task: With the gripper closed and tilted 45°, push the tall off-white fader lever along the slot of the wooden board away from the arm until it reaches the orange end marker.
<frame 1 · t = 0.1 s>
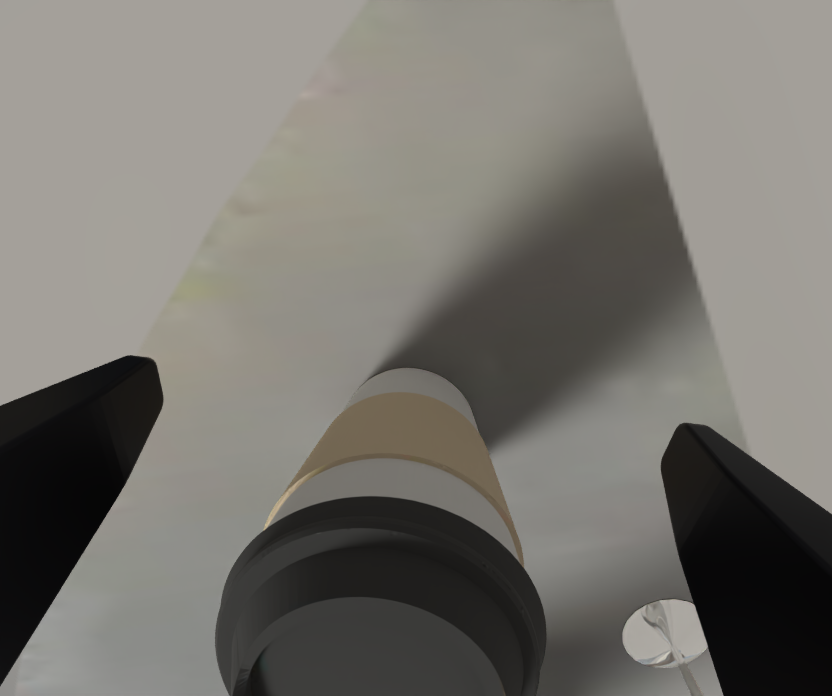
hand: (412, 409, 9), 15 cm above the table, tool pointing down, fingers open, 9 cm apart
wineglass: (665, 631, 29), on the table
coffee cup: (409, 429, 26), on the table
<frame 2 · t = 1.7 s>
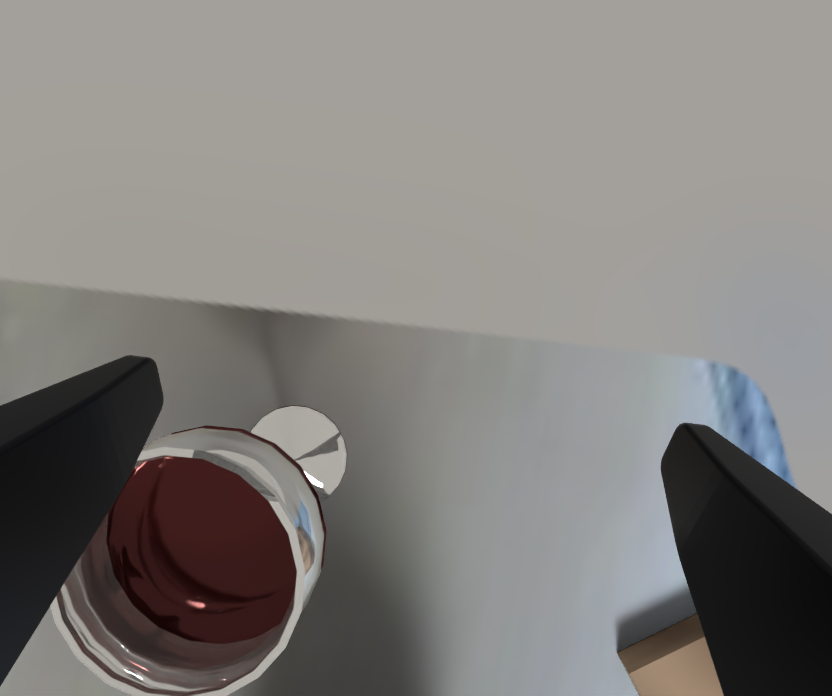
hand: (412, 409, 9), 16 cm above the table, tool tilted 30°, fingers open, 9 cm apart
wineglass: (296, 455, 25), on the table
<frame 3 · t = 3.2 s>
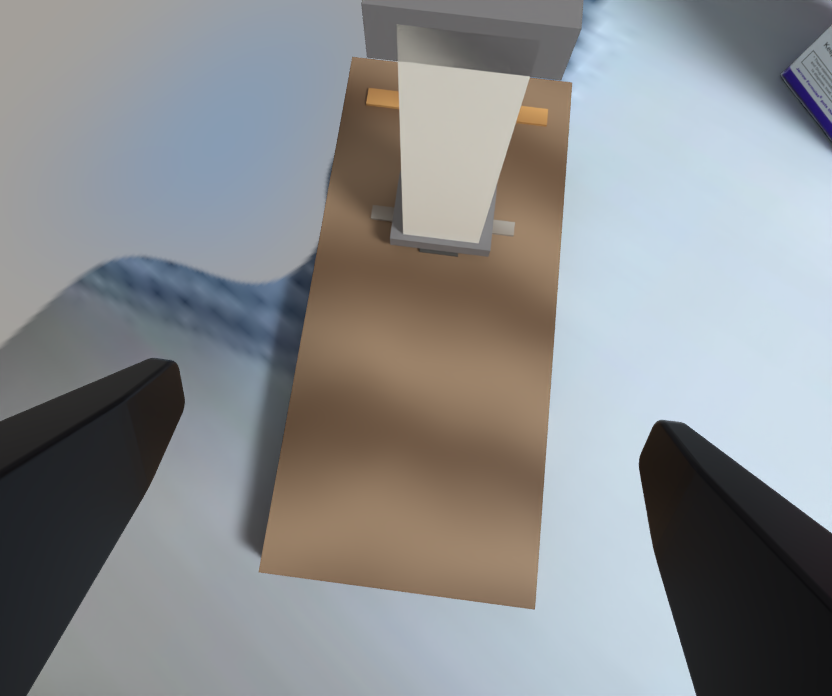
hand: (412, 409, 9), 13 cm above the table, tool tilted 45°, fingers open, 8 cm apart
wooden board: (431, 311, 22), on the table
fader lever: (454, 133, 16), point 7 cm above the table, slide at 0.0 cm
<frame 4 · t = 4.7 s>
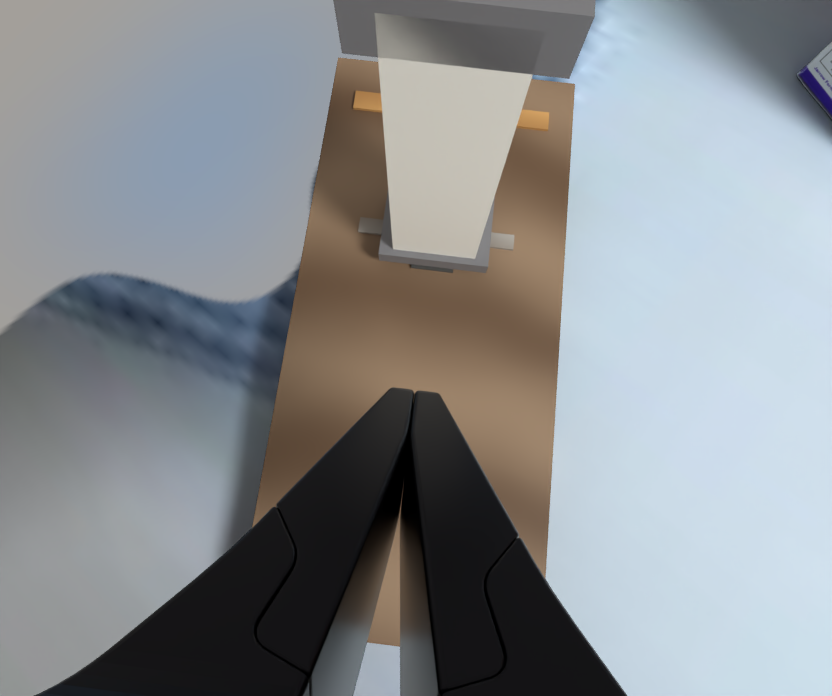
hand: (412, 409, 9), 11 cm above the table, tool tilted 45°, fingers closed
wooden board: (424, 331, 21), on the table
fader lever: (447, 140, 14), point 7 cm above the table, slide at 0.0 cm
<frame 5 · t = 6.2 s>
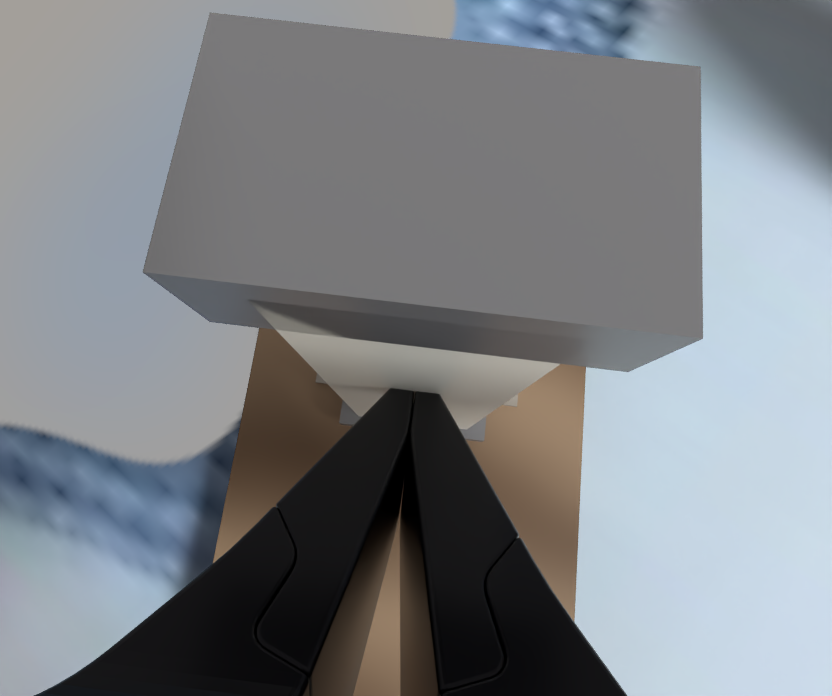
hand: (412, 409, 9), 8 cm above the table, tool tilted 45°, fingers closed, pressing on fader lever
wooden board: (403, 502, 16), on the table
fader lever: (422, 333, 10), point 7 cm above the table, slide at 0.0 cm, touching gripper
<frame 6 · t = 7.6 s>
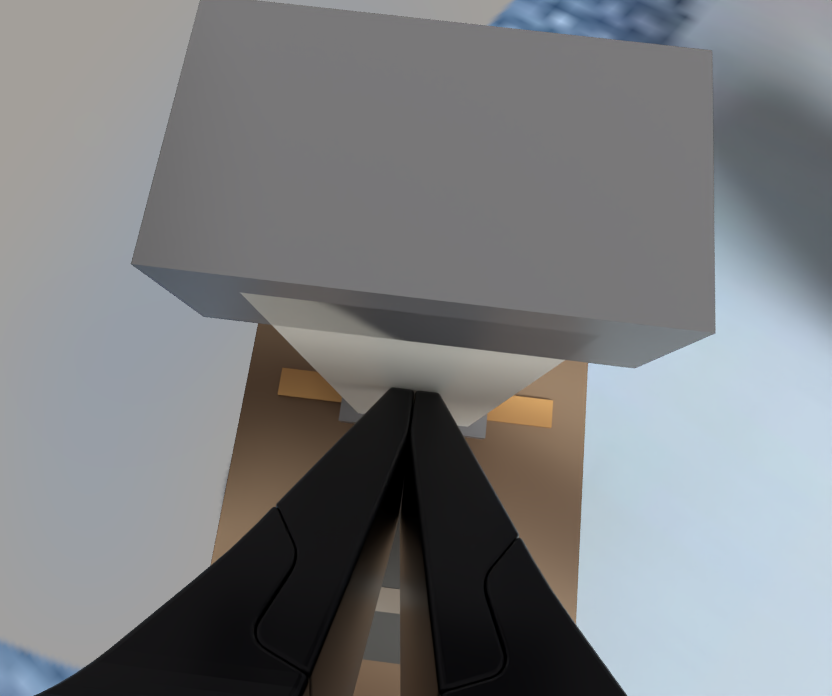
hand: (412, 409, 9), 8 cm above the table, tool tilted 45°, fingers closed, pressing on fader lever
fader lever: (422, 329, 9), point 7 cm above the table, slide at 6.0 cm, touching gripper
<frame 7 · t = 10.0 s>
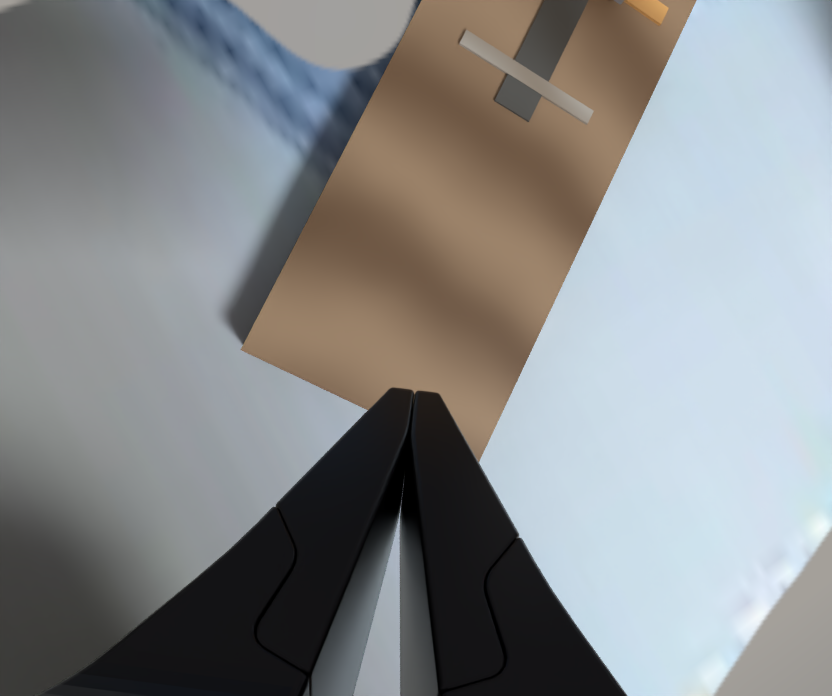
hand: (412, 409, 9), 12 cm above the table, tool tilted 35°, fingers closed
wooden board: (478, 168, 22), on the table
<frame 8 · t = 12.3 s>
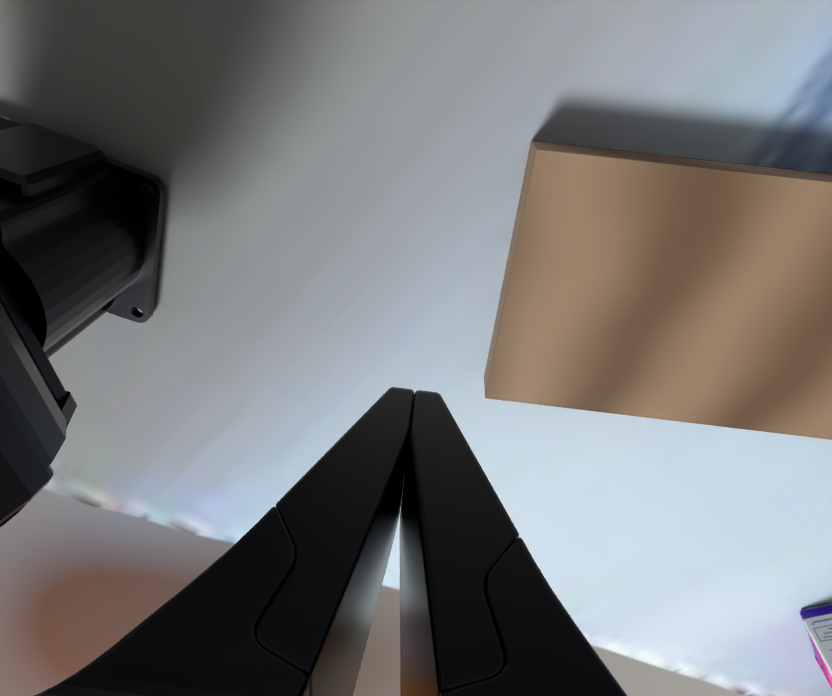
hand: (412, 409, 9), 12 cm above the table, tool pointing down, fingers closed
wooden board: (785, 307, 20), on the table
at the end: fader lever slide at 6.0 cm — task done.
